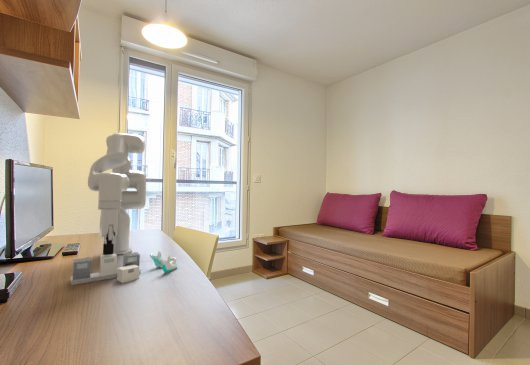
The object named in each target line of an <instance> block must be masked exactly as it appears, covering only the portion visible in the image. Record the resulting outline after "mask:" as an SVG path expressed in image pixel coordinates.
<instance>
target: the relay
mask: <svg viewBox="0 0 530 365" xmlns="http://www.w3.org/2000/svg"><path fill="white" fill-rule="evenodd" d="M139 269H140V265H139V266H137V265H129V266H124V267H123V266H121V267H117V270H118V273H117V278H116V280H117V281H118V282H120V283H123V284H124V283H126V282H130V281H134V280H139V279H140V274H139Z"/></svg>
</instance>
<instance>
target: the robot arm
mask: <svg viewBox="0 0 530 365" xmlns="http://www.w3.org/2000/svg"><path fill="white" fill-rule="evenodd" d="M105 142H106V143H105V144H106V147H107V149H106V154H105V155H103V156H101V157H99V158H98V159H97V160H96V161H94V162H93V163H92V164H91V166H90V168H89V169H90V170H89V174H88V178H87V187H88V189H90V190H91V191H93V192H98V203H97V210H98V211H100V215H99V216H100V218H99V229H98V230H99V232H98V234H99V235H100V237H101V238H103V245H102V247H103V248H102V255H111V254H116V255H117V256H118V255H123V254H125V253H132V251H133V248H132V247H130V231H131V230H130V229H131V224H130V223H131V217H130V215H129V214H128V212H127V211H125V210H142V209H143V208H145V206H146V201H147V200H146V197H147V196H146V195H147V177H146V173H145V172H143V171H141V170H132V160H131V158H130V157H129V154H144V151H145V149H146V148H145V146H146V143H145V142H146V141H145V139H144V137H143V136H142V135H139V134H135V133H122V132H116V133H112V134H111V135H108V136H107V137H106V140H105ZM108 170H111V171H112V172H105V171H108ZM128 189H134V190H128Z"/></svg>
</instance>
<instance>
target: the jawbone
mask: <svg viewBox="0 0 530 365" xmlns="http://www.w3.org/2000/svg"><path fill="white" fill-rule="evenodd" d="M157 252H158V253H157V255H153V253H150V254H149V257H150V258H151V259H152V260H153V262H154V265H155V267H156V268H162V270H163V273H169V271H170V272H171V271H175V270H176V269H178V265H177V257H175V256H173V257H171V256H170V255H168V257H167V258H166V259H165V260H164V259H163V258H162V252H161V251H159V250H158V251H157Z"/></svg>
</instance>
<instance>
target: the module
mask: <svg viewBox="0 0 530 365" xmlns="http://www.w3.org/2000/svg"><path fill="white" fill-rule="evenodd" d="M117 262H118V255H116V254H111V255H103V254H101V255H100V256H99V272H100V275H101V276H103V275H110V274H116V271H117V270H118V267H117V266H118V264H117Z"/></svg>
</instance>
